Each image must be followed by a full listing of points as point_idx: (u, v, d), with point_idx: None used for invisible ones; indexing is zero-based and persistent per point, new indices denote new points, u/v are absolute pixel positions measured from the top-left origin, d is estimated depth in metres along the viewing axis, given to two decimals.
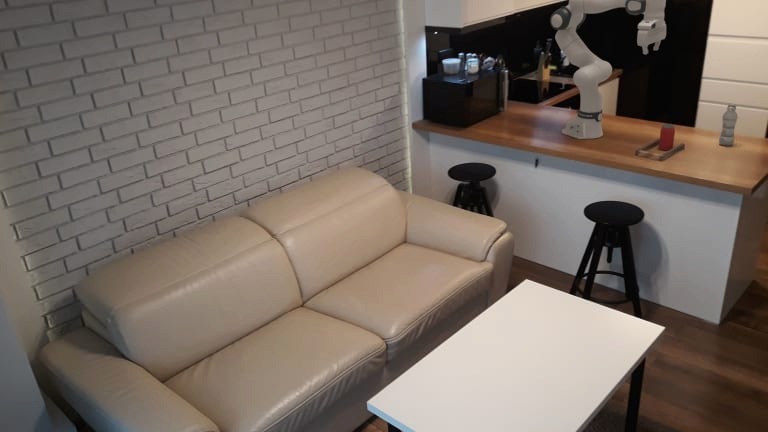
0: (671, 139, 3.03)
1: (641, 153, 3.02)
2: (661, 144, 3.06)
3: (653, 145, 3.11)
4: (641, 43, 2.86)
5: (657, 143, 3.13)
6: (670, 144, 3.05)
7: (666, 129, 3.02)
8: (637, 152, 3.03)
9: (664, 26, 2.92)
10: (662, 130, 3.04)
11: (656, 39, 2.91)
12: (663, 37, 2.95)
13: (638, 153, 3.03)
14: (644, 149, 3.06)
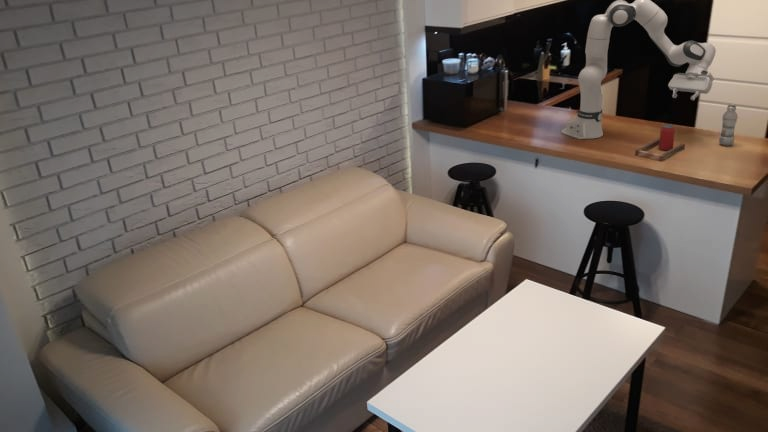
0: (671, 139, 3.03)
1: (641, 153, 3.02)
2: (661, 144, 3.06)
3: (653, 145, 3.11)
4: (708, 90, 2.97)
5: (657, 143, 3.13)
6: (670, 144, 3.05)
7: (666, 129, 3.02)
8: (637, 152, 3.03)
9: None
10: (662, 130, 3.04)
11: None
12: None
13: (638, 153, 3.03)
14: (644, 149, 3.06)
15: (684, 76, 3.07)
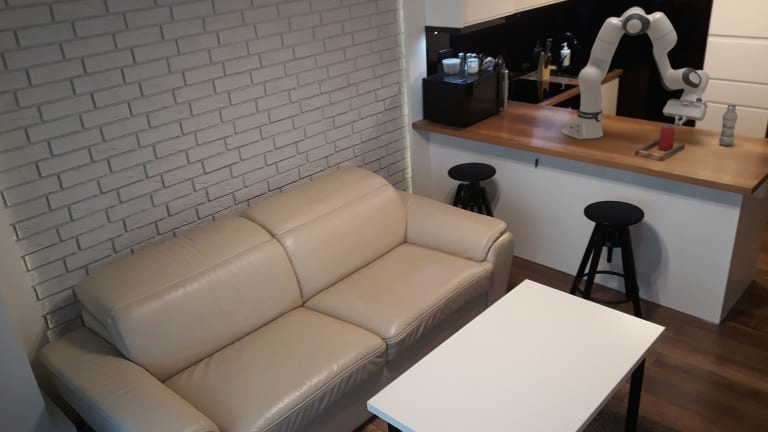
0: (671, 139, 3.03)
1: (641, 153, 3.02)
2: (661, 144, 3.06)
3: (653, 145, 3.11)
4: (703, 118, 3.03)
5: (657, 143, 3.13)
6: (670, 144, 3.05)
7: (666, 129, 3.02)
8: (637, 152, 3.03)
9: None
10: (662, 130, 3.04)
11: None
12: None
13: (638, 153, 3.03)
14: (644, 149, 3.06)
15: (679, 102, 3.12)
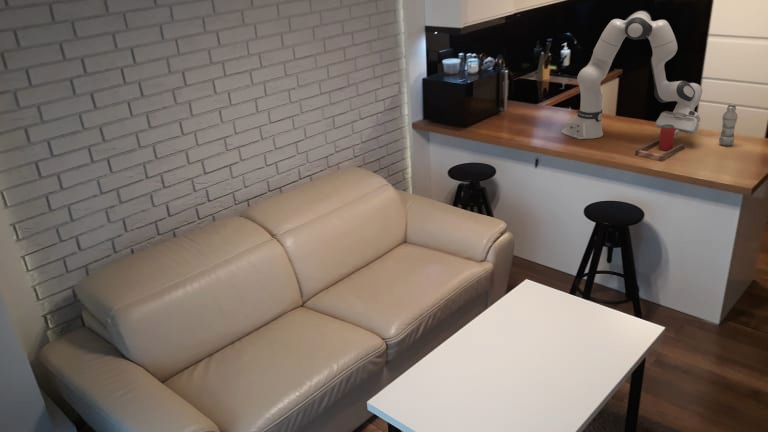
0: (671, 139, 3.03)
1: (641, 153, 3.02)
2: (661, 144, 3.06)
3: (653, 145, 3.11)
4: (695, 131, 3.02)
5: (657, 143, 3.13)
6: (670, 144, 3.04)
7: (666, 129, 3.02)
8: (637, 152, 3.03)
9: None
10: (662, 130, 3.04)
11: None
12: None
13: (638, 153, 3.03)
14: (644, 149, 3.06)
15: (671, 115, 3.11)
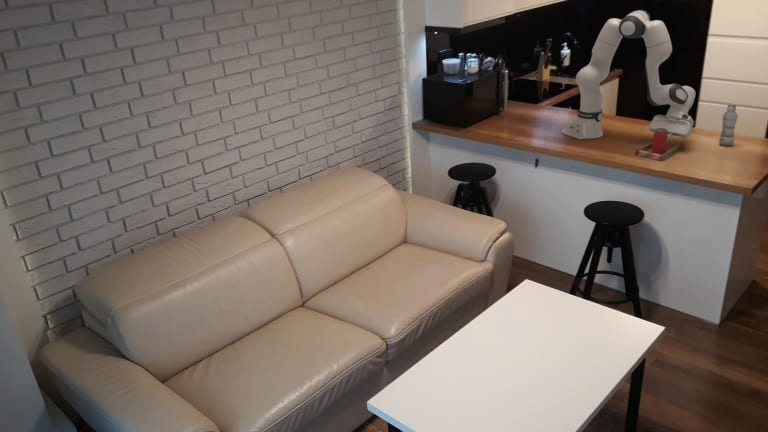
0: (664, 143, 2.99)
1: (641, 153, 3.02)
2: (654, 148, 3.02)
3: None
4: (689, 135, 2.98)
5: None
6: (663, 148, 3.00)
7: (659, 133, 2.98)
8: (637, 152, 3.03)
9: None
10: (655, 134, 3.00)
11: None
12: None
13: (638, 153, 3.03)
14: (644, 149, 3.06)
15: (664, 119, 3.07)
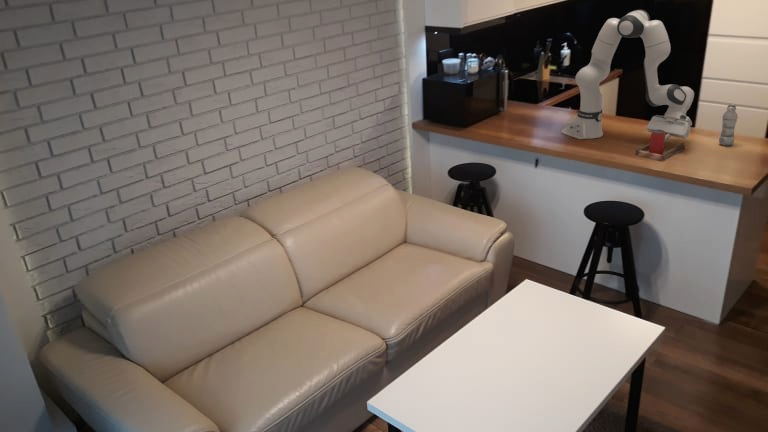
0: (661, 145, 2.98)
1: (641, 153, 3.02)
2: (651, 150, 3.01)
3: None
4: (686, 135, 2.97)
5: None
6: (660, 150, 2.99)
7: (656, 134, 2.97)
8: (637, 152, 3.03)
9: None
10: (652, 135, 2.99)
11: None
12: None
13: (638, 153, 3.03)
14: (644, 149, 3.06)
15: (663, 119, 3.06)
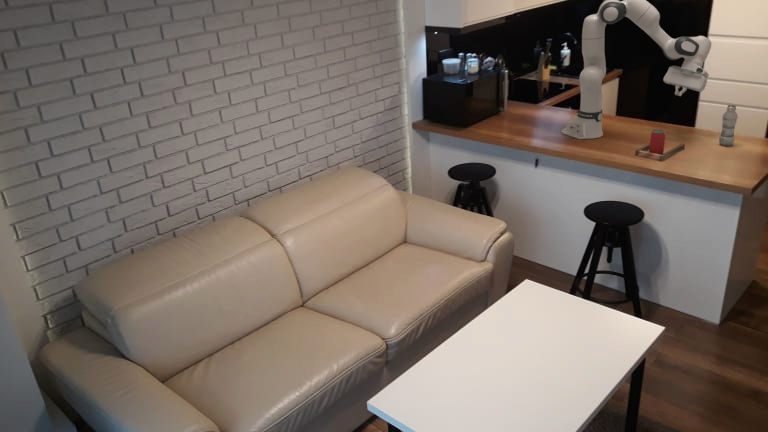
0: (661, 145, 2.98)
1: (641, 153, 3.02)
2: (651, 149, 3.01)
3: None
4: (703, 89, 3.00)
5: None
6: (660, 150, 2.99)
7: (656, 134, 2.97)
8: (637, 152, 3.03)
9: None
10: (652, 135, 2.99)
11: None
12: None
13: (638, 153, 3.03)
14: (644, 149, 3.06)
15: (679, 71, 3.06)
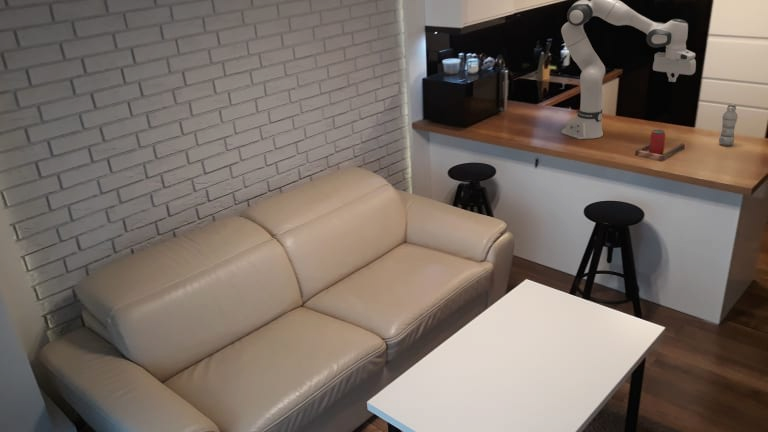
0: (661, 145, 2.98)
1: (641, 153, 3.02)
2: (651, 150, 3.01)
3: None
4: (694, 71, 2.96)
5: None
6: (660, 150, 2.99)
7: (656, 134, 2.97)
8: (637, 152, 3.03)
9: None
10: (652, 135, 2.99)
11: None
12: None
13: (638, 153, 3.03)
14: (644, 149, 3.06)
15: (665, 59, 3.02)
